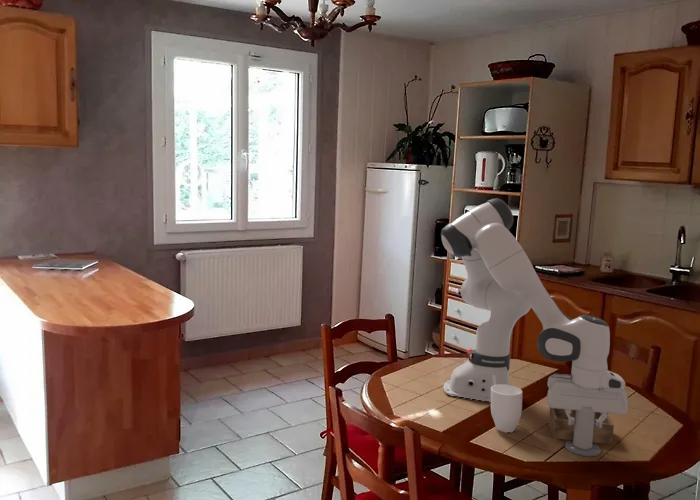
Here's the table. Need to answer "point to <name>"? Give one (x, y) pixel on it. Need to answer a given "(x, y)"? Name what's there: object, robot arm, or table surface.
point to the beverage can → (584, 428)
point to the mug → (506, 406)
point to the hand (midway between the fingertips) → (584, 425)
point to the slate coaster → (589, 453)
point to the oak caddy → (565, 431)
